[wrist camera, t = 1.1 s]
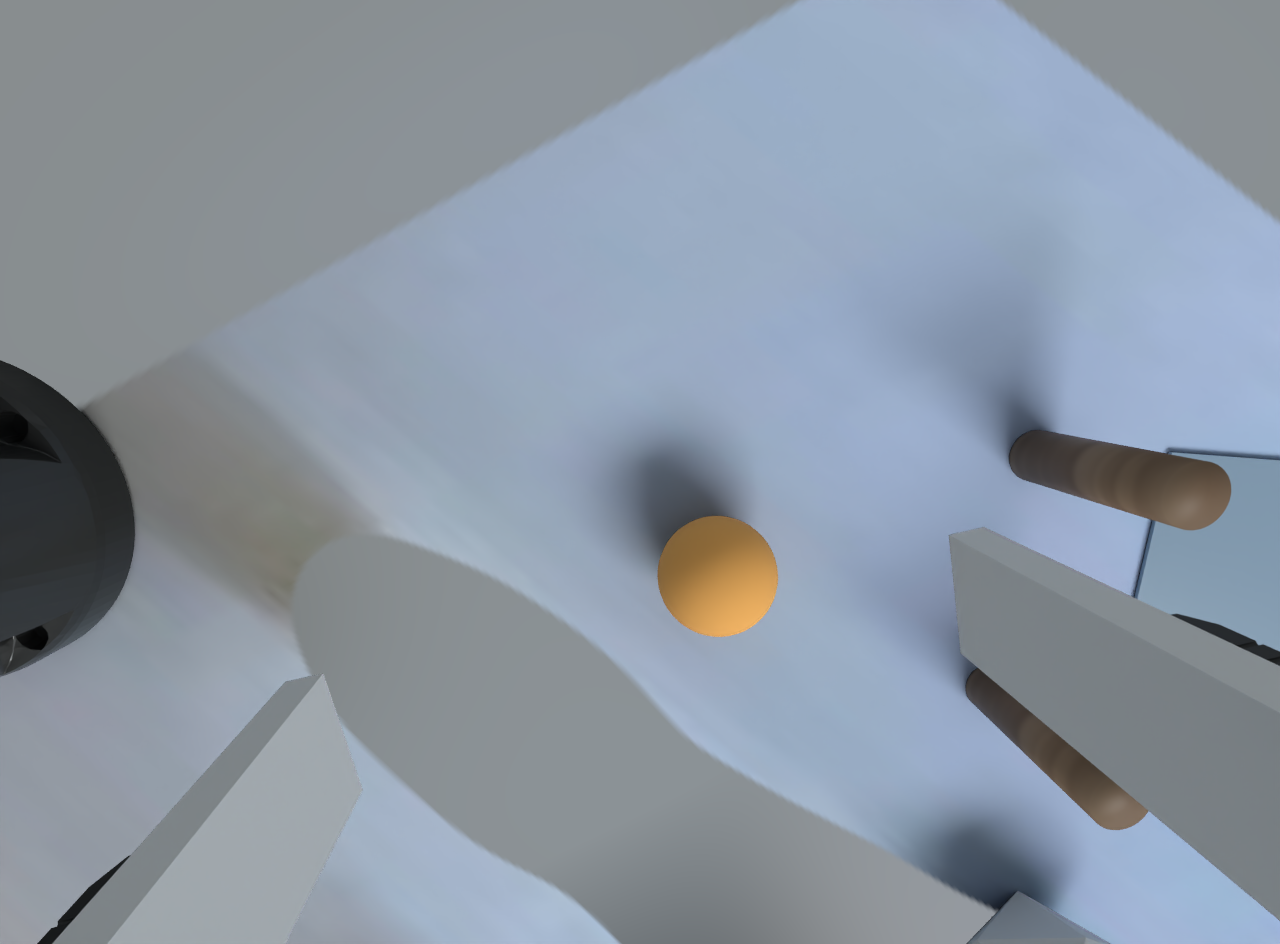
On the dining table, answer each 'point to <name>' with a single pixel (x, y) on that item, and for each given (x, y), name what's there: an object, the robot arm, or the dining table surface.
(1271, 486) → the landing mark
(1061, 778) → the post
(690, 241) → the dining table surface
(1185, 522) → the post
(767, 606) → the ball
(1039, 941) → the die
